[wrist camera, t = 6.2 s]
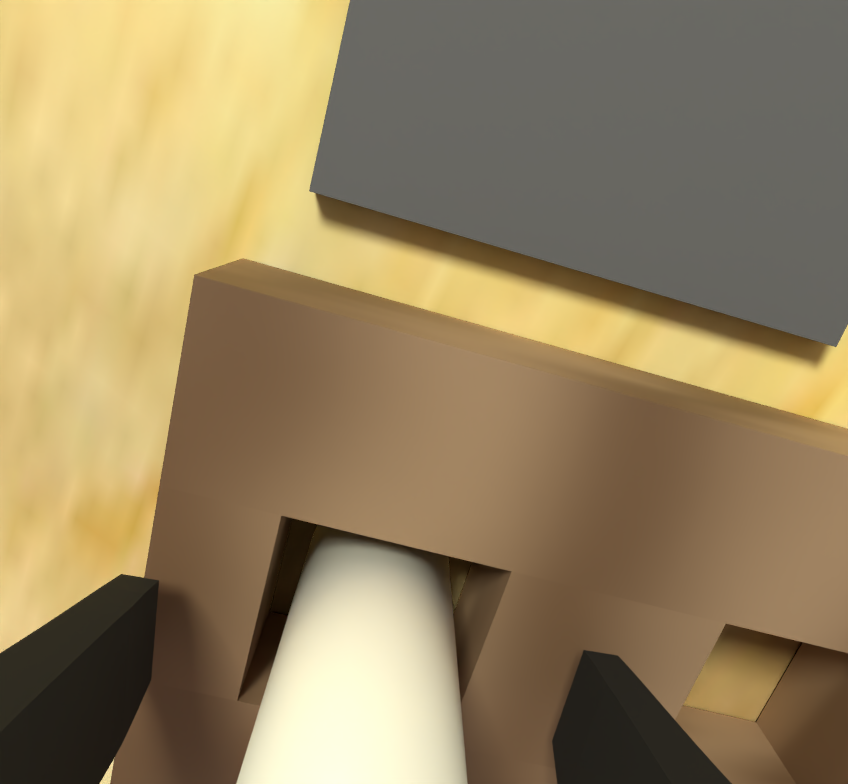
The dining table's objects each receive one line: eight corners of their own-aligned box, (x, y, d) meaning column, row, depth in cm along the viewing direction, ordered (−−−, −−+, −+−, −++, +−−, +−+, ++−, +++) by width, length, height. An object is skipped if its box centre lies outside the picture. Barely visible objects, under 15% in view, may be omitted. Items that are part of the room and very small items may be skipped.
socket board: (1000, 472, 12) (1159, 546, 10) (767, 837, 16) (838, 968, 13) (243, 258, 11) (187, 277, 8) (157, 710, 14) (97, 829, 12)
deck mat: (1062, -147, 9) (1098, -166, 9) (819, 340, 12) (835, 347, 11) (440, -394, 8) (442, -431, 8) (314, 191, 11) (308, 190, 10)
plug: (462, 509, 13) (544, 1088, 4) (431, 623, 14) (450, 1276, 5) (322, 481, 12) (135, 1040, 4) (300, 600, 13) (110, 1247, 5)
